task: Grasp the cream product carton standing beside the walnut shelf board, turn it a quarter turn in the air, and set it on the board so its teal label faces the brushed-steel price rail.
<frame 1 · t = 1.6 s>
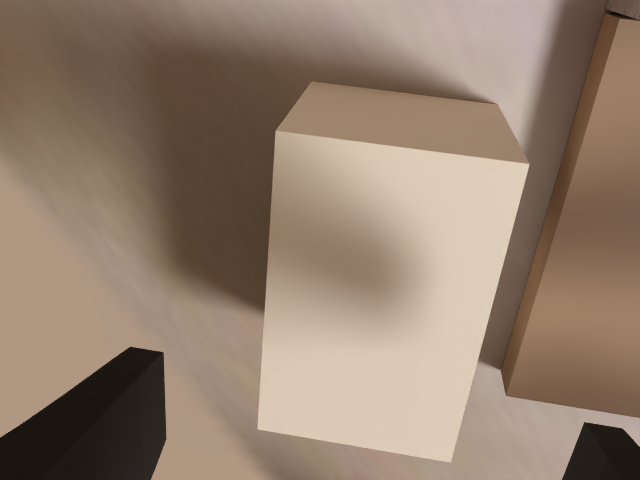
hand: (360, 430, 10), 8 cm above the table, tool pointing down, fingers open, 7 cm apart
carton: (382, 224, 18), on the table
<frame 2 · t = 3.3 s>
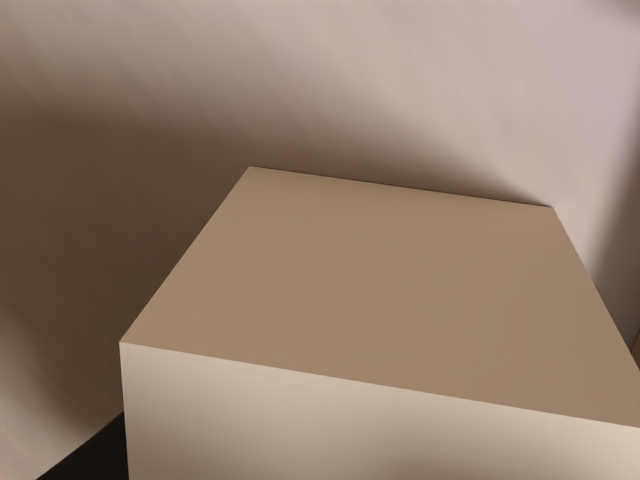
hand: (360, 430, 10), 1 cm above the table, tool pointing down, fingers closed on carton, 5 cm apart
carton: (367, 377, 12), on the table, touching gripper
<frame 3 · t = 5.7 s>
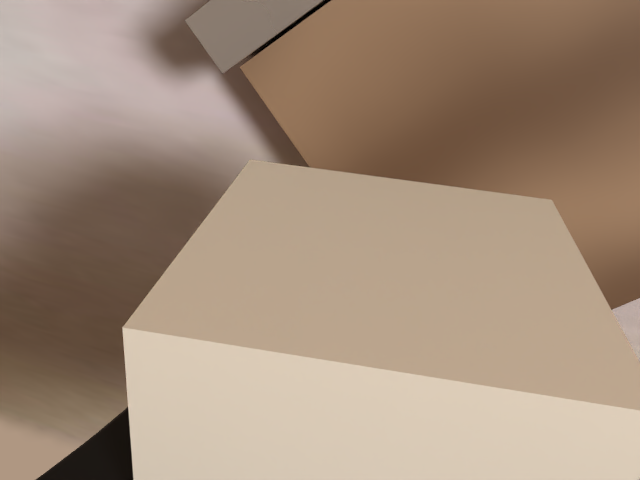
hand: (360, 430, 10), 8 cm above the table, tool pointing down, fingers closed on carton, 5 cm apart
carton: (367, 370, 12), point 7 cm above the table, touching gripper
shelf board: (572, 100, 16), on the table
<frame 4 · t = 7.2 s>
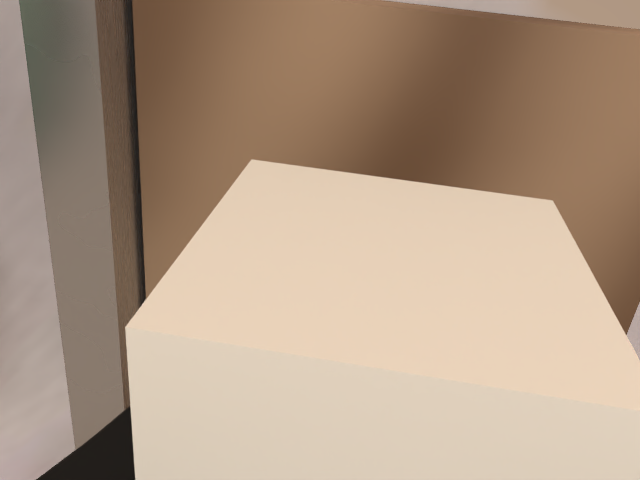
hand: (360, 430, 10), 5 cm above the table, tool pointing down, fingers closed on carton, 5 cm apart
carton: (368, 370, 12), point 3 cm above the table, touching gripper
shelf board: (377, 284, 15), on the table
price rail: (133, 247, 15), on the table
when the fingers open (4 cm above the table, at t = 8.4 s): carton drops 1 cm, resting on shelf board.
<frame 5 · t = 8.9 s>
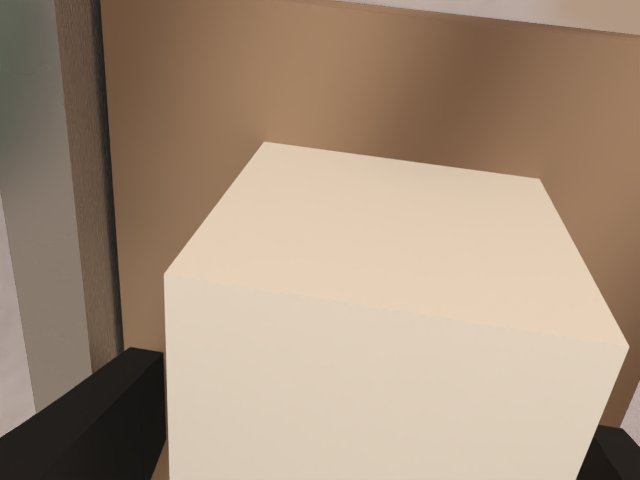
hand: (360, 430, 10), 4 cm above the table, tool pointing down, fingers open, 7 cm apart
carton: (370, 339, 13), point 1 cm above the table, touching shelf board
shelf board: (373, 310, 14), on the table
price rail: (110, 270, 14), on the table
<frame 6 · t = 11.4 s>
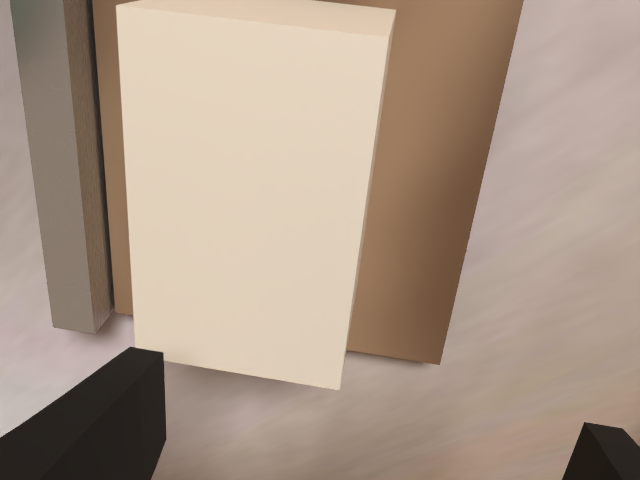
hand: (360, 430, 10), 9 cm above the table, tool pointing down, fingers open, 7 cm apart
carton: (286, 149, 17), point 1 cm above the table, touching shelf board
shelf board: (294, 139, 18), on the table
price rail: (94, 112, 19), on the table
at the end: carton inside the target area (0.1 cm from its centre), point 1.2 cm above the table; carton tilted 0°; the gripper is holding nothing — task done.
